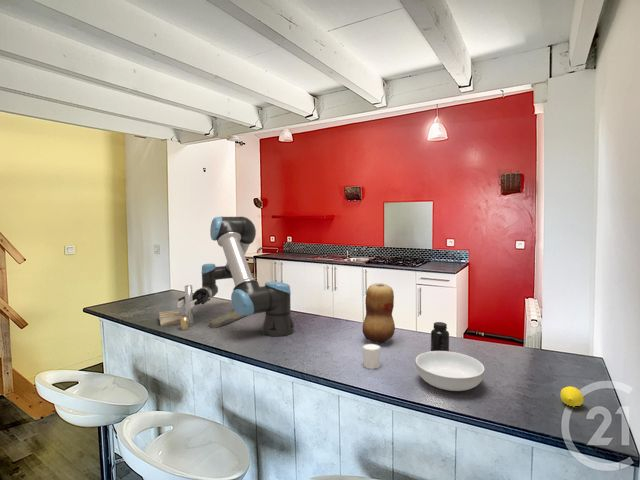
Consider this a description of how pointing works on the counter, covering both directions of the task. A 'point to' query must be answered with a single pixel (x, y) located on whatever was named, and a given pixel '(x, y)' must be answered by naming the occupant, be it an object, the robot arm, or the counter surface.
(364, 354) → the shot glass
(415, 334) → the counter surface
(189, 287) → the steel pin
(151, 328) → the counter surface
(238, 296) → the robot arm
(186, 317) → the brass stub pin
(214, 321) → the elongated rock
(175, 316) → the guide block
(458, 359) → the serving bowl
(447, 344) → the supplement bottle
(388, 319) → the butternut squash
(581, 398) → the lemon
